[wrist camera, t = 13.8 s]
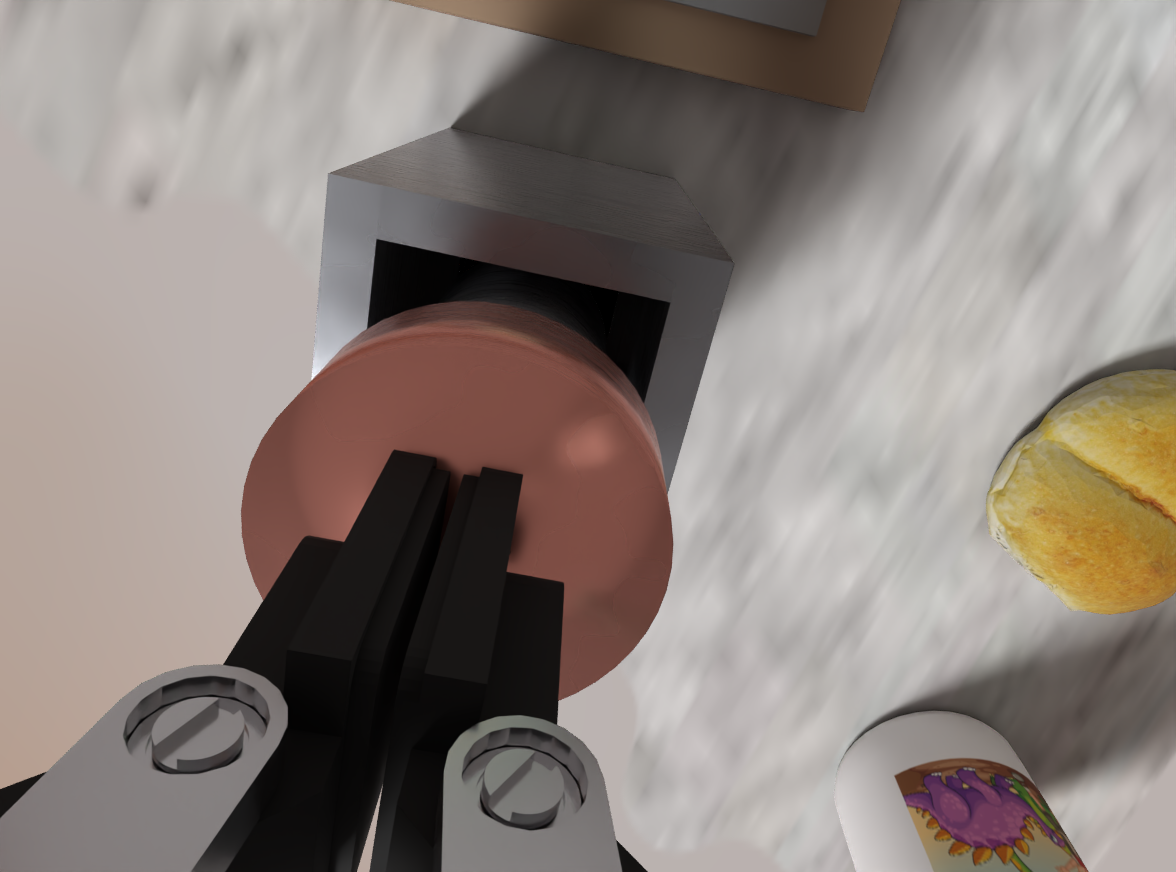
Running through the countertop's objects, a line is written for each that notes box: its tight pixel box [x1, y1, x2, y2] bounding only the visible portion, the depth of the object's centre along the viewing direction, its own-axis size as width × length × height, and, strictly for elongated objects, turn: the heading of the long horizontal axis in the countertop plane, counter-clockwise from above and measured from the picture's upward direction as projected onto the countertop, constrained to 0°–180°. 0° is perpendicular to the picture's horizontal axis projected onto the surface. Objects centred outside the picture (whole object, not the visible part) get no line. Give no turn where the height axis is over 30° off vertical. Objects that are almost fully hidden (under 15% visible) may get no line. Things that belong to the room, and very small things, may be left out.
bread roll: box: [986, 369, 1176, 614], centre depth 27 cm, size 8×9×4 cm
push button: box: [241, 262, 673, 701], centre depth 15 cm, size 6×6×9 cm
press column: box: [312, 128, 734, 494], centre depth 21 cm, size 7×7×12 cm
